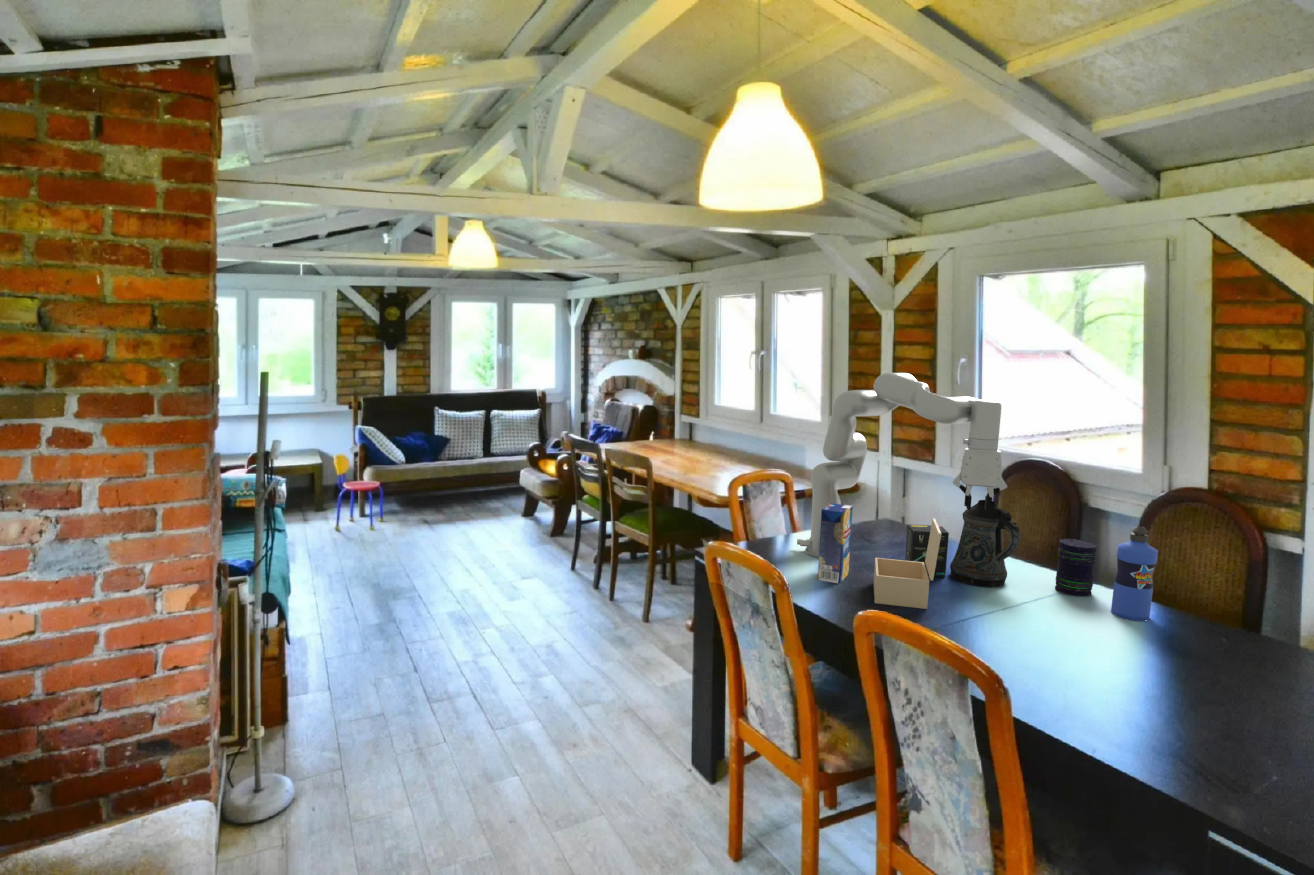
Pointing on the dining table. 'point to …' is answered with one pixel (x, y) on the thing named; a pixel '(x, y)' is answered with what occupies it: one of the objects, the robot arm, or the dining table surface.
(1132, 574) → the water bottle
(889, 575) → the carton
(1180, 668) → the dining table surface
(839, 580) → the beverage box
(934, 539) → the lid
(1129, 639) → the dining table surface
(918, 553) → the tampon box
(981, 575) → the beer stein
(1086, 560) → the storage jar
